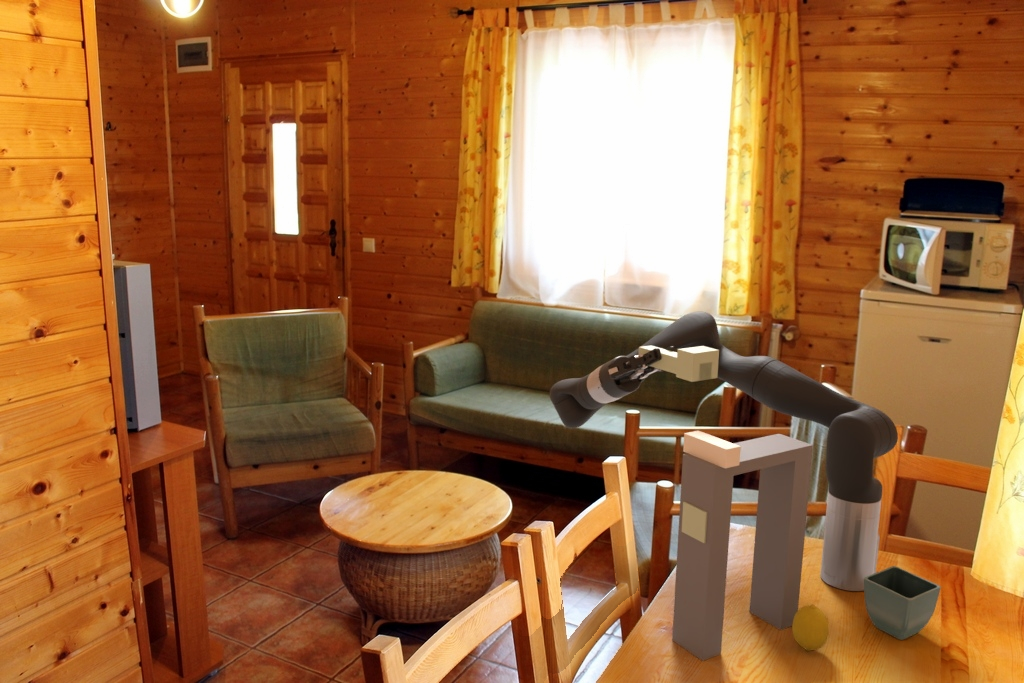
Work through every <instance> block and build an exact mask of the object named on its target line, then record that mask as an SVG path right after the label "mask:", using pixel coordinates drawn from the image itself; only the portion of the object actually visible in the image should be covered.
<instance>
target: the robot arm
mask: <svg viewBox="0 0 1024 683" xmlns="http://www.w3.org/2000/svg"><path fill="white" fill-rule="evenodd" d="M650 345H651V346H655V347H659V348H662V349H666V350H669V351H673V352H677V350H678V349H682V348H690V347H698V346H705V347H709V348H713V349H717V350H719V360H718V376H717V378H716V379H719V380H722V381H723V382H726V383H727V384H728V385H730V386H732V387H734V388H736V389H738V390H739V391H741V392H743V393H744V394H746V395H747V396H749V397H751V398H752V399H754V400H755V401H756V402H759V403H761V404H762V405H764V406H765V407H767V408H769V409H771V410H772V411H773V410H774V411H776V412H778V413H780V414H784V415H787V416H790V417H793V418H798V419H801V420H805V421H810V422H813V423H817V424H819V425H821V426H824V427H826V428H828V430H827V436H826V449H825V453H826V454H825V476H826V480H827V482H828V487H827V488H828V490H827V491H828V492H827V499H826V502H827V503H826V511H825V522H824V523H825V524H824V533H823V543H822V544H823V545H822V555H821V563H820V564H821V566H820V575H819V576H820V578H821V580H822V581H823V582H824V583H826V584H827V585H830V586H831V587H834V588H837V589H840V590H844V591H851V592H861V591H863V592H864V578H865V577H866V576H869V575H872V574H874V573H877V564H878V556H879V549H880V548H879V546H880V540H881V539H880V537H881V536H880V533H879V525H880V518H881V507H882V506H881V505H882V498H883V484H882V483H881V481H880V480H878V479H877V478H876V477H874V476H873V474H874V459H877V458H879V457H882V456H884V455H886V454H888V453H889V452H891V451H892V450H893V449H894V448H895V447H896V445H897V443H898V439H899V437H898V436H899V435H898V434H899V433H898V430H897V427H896V424H895V423H894V421H893V419H891V418H890V417H889V415H887V414H886V413H885V412H883V411H882V410H880V409H878V408H876V407H874V406H871V405H869V404H866V403H864V402H861V401H858V400H856V399H853V398H851V397H849V396H846V395H844V394H841V393H839V392H837V391H836V390H833V389H832V388H829V387H828V386H826V385H824V384H822V383H821V382H819V381H817V380H815V379H814V378H811V377H810V376H807V375H805V374H804V373H803V372H800V371H798V370H797V369H795V368H794V367H791V366H790V365H788V364H786V363H784V362H782V361H780V360H779V359H776V358H775V357H771V356H766V355H753V356H752V355H751V356H742V355H740V354H738V353H736V352H734V351H733V350H731V349H729V348H727V347H726V346H725V345H723V344H722V342H721V339H720V334H719V329H718V324H717V322H716V319H715V317H713V315H711V314H710V313H709V312H707V311H692V312H689V313H687V314H684V315H683V316H681V317H679V318H678V319H676V320H675V321H673V322H672V323H671V324H669V325H668V326H666V328H664V329H663V330H661V331H660V332H658V333H657V334H655V335H654V336H653V337H651V338H649V340H647V341H646V342H645V343H643V344H642V345H641V346H640V347H642V346H650ZM659 348H655V349H653V350H651V351H649V352H647V353H646V354H640V355H639V347H637V348H636V349H635V350H633V351H632V352H631V353H630V352H629V354H627V355H619V356H616V357H614V358H613V359H611V360H609V361H607V362H606V363H603V364H601V365H600V366H598V367H597V368H596V369H594V370H593V371H592V372H590V373H589V374H587V375H585V376H583V377H579V378H578V377H577V378H576V377H575V378H566V379H562V380H559V381H557V382H556V383H554V384H553V385H552V386H551V388H550V390H549V399H550V401H551V403H552V405H553V407H554V409H555V411H556V412H557V415H558V416H559V419H560V420H561V422H562V424H563V425H564V426H565V427H566V428H567V429H568V428H569V429H577V428H580V427H582V426H583V425H584V424H585V423H587V422H588V421H590V419H591V418H592V417H593V416H594V415H595V414H596V413H597V412H598V411H600V410H601V409H602V408H603V407H604V406H605V405H607V404H609V403H611V402H615V401H618V400H620V399H622V398H624V397H626V396H628V395H630V394H631V393H634V392H635V391H637V390H638V389H639V388H640V386H641V384H642V383H643V382H644V381H645V380H646V379H647V378H648V377H649V376H650V375H652V374H654V373H656V372H661V373H662V372H664V370H661V369H658V368H655V367H651V366H648V365H651V364H653V363H655V362H657V361H659V360H661V359H662V356H661V352H660V349H659ZM638 355H639V356H638Z"/></svg>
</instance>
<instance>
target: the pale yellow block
mask: <svg viewBox="0 0 1024 683" xmlns="http://www.w3.org/2000/svg"><path fill="white" fill-rule="evenodd" d="M641 346H642V345H641ZM641 346H638V348H639V355H640V354H646V353H647V352H649V351H651V350H653V349H655V348H659V347H655V346H651V345H650V346H642V347H641ZM659 349H660V352H661V356H662V359H661V360H659V361H657V362H655V363H653V364H651V365H648V366H651V367H655V368H658V369H661V370H664V371H665V372H668V373H672V374H675V378H679V379H680V380H681V379H682V380H685V381H686V382H687V381H688V382H691V383H693V382H700V381H701V382H702V381H705V380H713V379H718V378H717V376H718V360H719V350H717V349H713V348H709V347H705V346H698V347H690V348H682V349H677V350H676V352H673V351H669V350H666V349H662V348H659ZM639 355H638V356H639ZM664 371H663V372H664Z"/></svg>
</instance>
